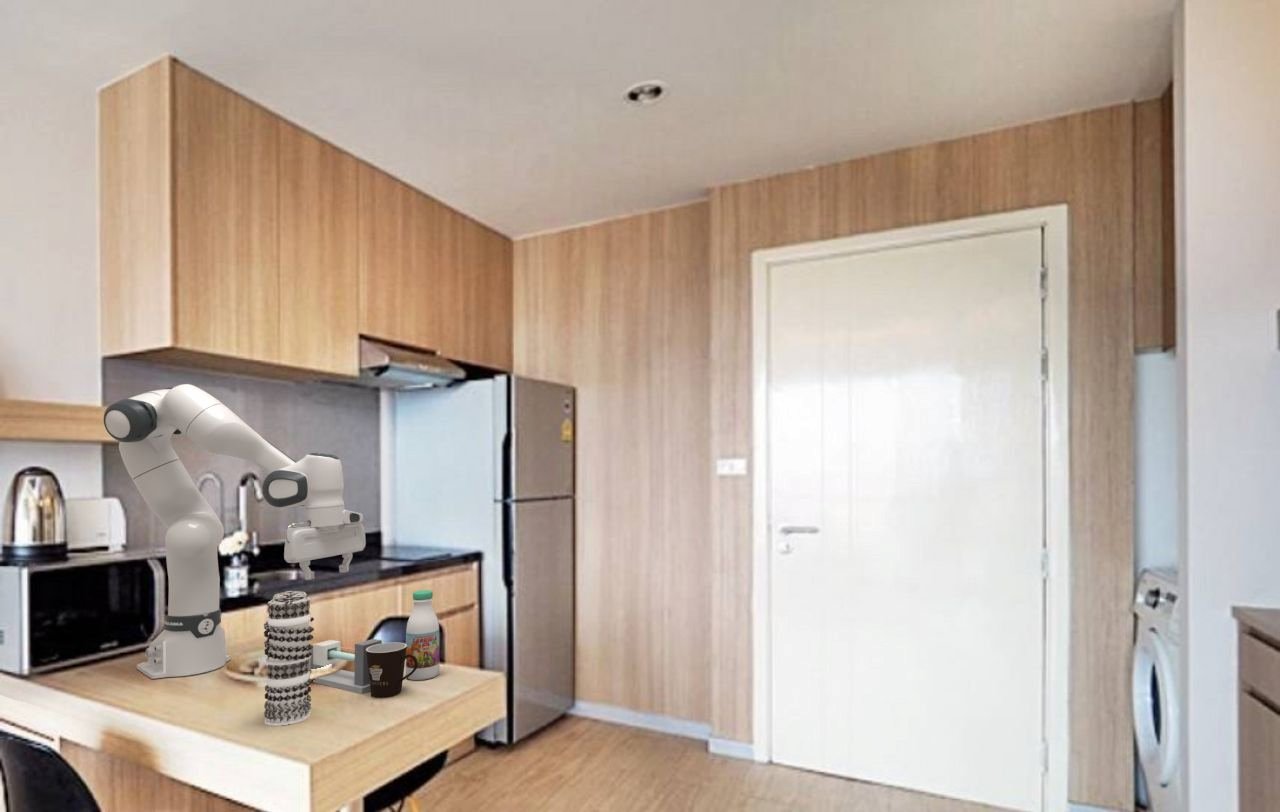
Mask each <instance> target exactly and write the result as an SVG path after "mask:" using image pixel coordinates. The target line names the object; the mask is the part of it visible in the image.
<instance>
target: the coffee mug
mask: <svg viewBox="0 0 1280 812" xmlns="http://www.w3.org/2000/svg"><path fill="white" fill-rule="evenodd" d="M406 649H407V645H406V643H404V642H398V641H397V642H396V641H394V642H392V641H391V642H382V644H376V645H373V646H370V647H368V648H367V649H366V655H367V664H368V673H369V682H370V691H369V692H370V696H371V697H372V698H375V699H387V698H391V697H392V698H393V697H395V696H399V695H400V694H401V693H402V690H403V681H405V680H406V679H408V677H409V676H410V675H412V674H413V673H414V672H415V670H416V669H417V666H418V662H417V658H416V657H415V656H413V655H410V654H409V655H406ZM407 657H410V658H412V659H413V660H414V662H415V667H414V669H413V670H412V672H410V673H409V674H408V675H406V674H405V676H404V673H405V667H406V658H407Z"/></svg>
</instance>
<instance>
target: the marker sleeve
mask: <svg viewBox="0 0 1280 812" xmlns="http://www.w3.org/2000/svg"><path fill="white" fill-rule="evenodd" d="M341 644H342V642H341V641H340V640H335V639H328V640H324V641H321V642H317V643H313V644H312V645H313V664H316V665H320V666H326V665H329V664H336V663H338V662H339V663H340V662H342V661H341V660H342V659H337V658H332V657H327V651H328V649H329V650H335V651H340V652H342V648H341V647H342V645H341Z"/></svg>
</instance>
